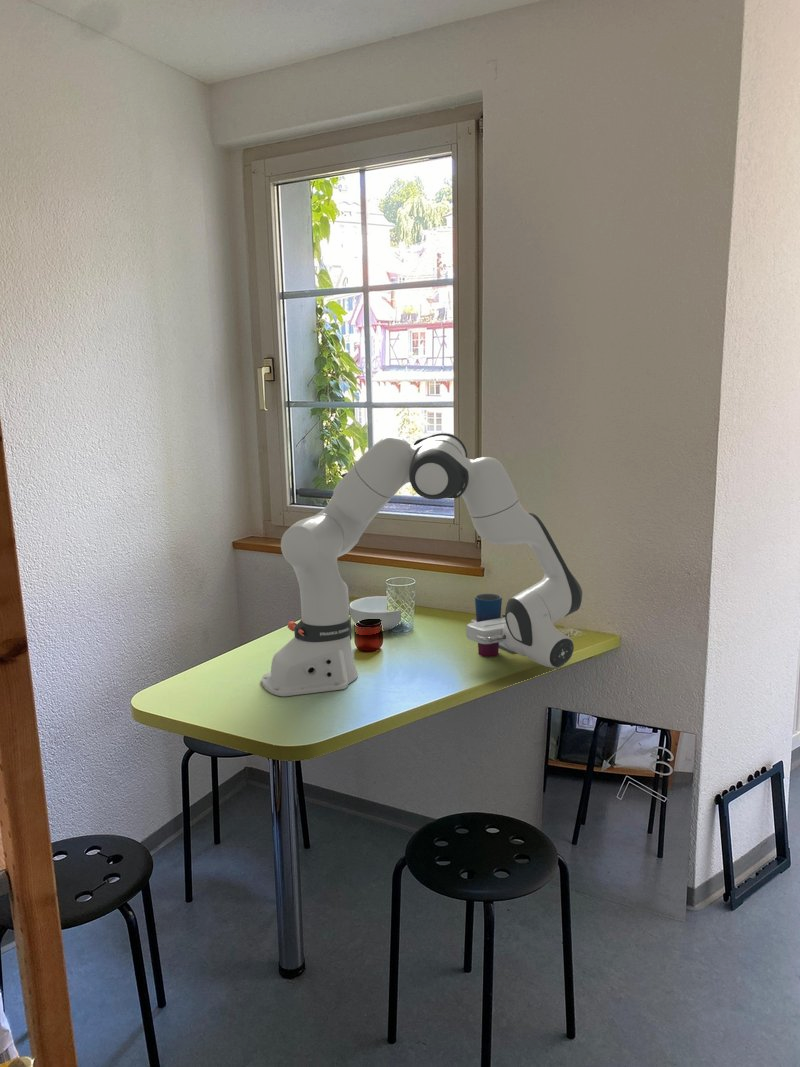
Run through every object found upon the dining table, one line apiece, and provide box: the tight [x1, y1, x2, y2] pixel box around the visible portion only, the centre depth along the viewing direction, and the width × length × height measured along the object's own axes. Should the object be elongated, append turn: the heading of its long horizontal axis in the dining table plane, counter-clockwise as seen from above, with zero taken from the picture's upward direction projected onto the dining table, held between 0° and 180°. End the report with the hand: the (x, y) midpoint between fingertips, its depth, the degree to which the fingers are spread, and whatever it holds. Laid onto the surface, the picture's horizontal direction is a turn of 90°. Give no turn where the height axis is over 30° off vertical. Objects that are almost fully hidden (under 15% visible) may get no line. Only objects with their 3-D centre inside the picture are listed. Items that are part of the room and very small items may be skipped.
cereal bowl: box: [349, 595, 401, 632], centre depth 228 cm, size 17×17×7 cm
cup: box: [474, 592, 503, 658], centre depth 202 cm, size 7×7×15 cm
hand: (488, 619), depth 202 cm, fingers open, 8 cm apart
